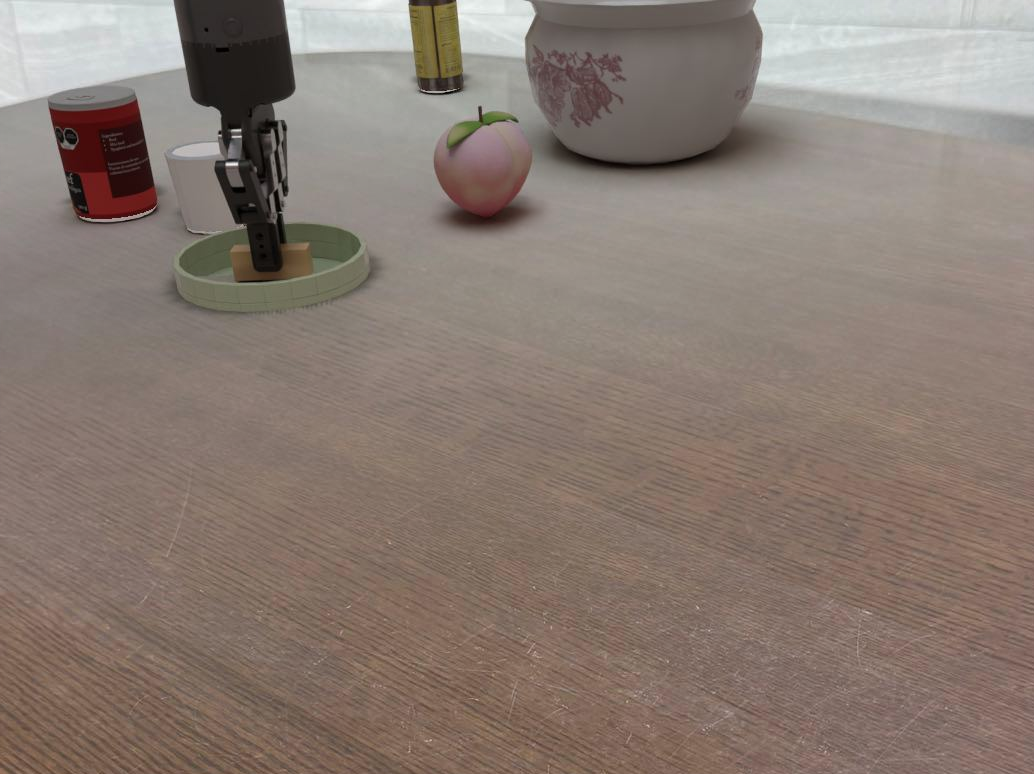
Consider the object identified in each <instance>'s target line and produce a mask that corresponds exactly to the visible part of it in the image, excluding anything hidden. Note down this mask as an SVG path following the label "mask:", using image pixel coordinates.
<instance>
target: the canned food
mask: <svg viewBox="0 0 1034 774" xmlns="http://www.w3.org/2000/svg"><path fill="white" fill-rule="evenodd" d="M47 107H48V112H49V115H50V120H51V124H52V128H53V129H52V130H53V132H54V136H55V141H56V144H57V149H58V153H59V156H60V160H61V164H62V169H63V173H64V177H65V182H66V184H67V189H68V192H69V197H70V201H71V205H72V209H73V211H74V213H75V215H76V216H77V215H79V216H81V217H85V218H91V219H112V218H121V217H128V216H133V215H137V214H140V213H144V212H146V211H149V210H151V209H153V208H154V207H155V206H156V205H157V206H158V193H157V189H156V185H155V180H154V175H153V170H152V164H151V159H150V155H149V150H148V149H149V148H148V144H147V140H146V139H147V138H146V135H145V129H144V124H143V120H142V115H141V108H140V107H139V102H138V97H137V95H136V91H135V89H133V88H131V87H128V86H122V85H96V86H94V85H93V86H85V87H77V88H70V89H66V90H61V91H59V92H56V93H53V94H51V95H50V96H48V98H47Z"/></svg>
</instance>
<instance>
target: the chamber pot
mask: <svg viewBox="0 0 1034 774" xmlns="http://www.w3.org/2000/svg"><path fill="white" fill-rule="evenodd" d="M524 1H525V2H529V3H530V4H531V6H532V10H533V11H534V17H533V19H532V21H531V24H530V25H529V28H528V30H527V32H526V34H525V37H524V55H525V67H526V71H527V76H528V80H529V84H530V88H531V93H532V97H533V101H534V103H535V105H536V106H537V108H538V110H539V111H540V113H541V114H542V116H543V118H544V119H545V121H546V123H547V124H548V125H549V128H550V129H551V130H552V132H553V134H554V135H555V137H556V138H557V139H558V140H559V141H560V143H562V144H563V145H564V146H565V148H567V149H568V150H569V151H571V152H574V153H576V154H578V155H581V156H583V157H586V158H589V159H593V160H595V161H598V162H604V163H609V164H616V165H627V166H645V165H646V166H648V165H649V166H650V165H660V164H662V165H663V164H670V163H675V162H680V161H684V160H687V159H690V158H692V157H695V156H698V155H700V154H703V153H706V152H709V151H711V150H713V149H715V148H716V147H717V146H718V145H720V144H721V143H722V142H723V141H724V140H725V139H726V138H727V137H728V136H729V135H730V133H731V132H732V130H733V129H734V128H735V126H736V124H737V123H738V121H739V120H740V118H741V116H742V114H743V113H744V111H745V110H746V108H747V107H748V105H749V104H750V102H751V100H752V99H753V95H754V92H755V91H754V90H755V87H756V83H757V79H758V76H759V71H760V67H761V64H762V54H763V39H764V33H763V30H762V29H763V28H762V26H761V24H760V22H759V20H758V18H757V15H756V12H755V10H754V7H755V4H756V2H757V0H524Z"/></svg>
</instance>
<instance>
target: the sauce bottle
mask: <svg viewBox="0 0 1034 774" xmlns="http://www.w3.org/2000/svg"><path fill="white" fill-rule="evenodd" d="M407 6H408V14H409V22H410V23H409V24H410V32H411V39H412V49H413V57H414V66H415V67H414V68H415V75H416V78H417V88H418V87H419V88H420V89H422V90H425V91H447V90H453V89H458V88H460V89H461V88H463V87H464V77H463V72H464V65H463V64H464V63H463V56H462V46H461V45H462V44H461V35H460V23H459V14H458V13H459V12H458V3H457V0H408V5H407ZM419 88H418V89H419Z"/></svg>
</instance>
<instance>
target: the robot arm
mask: <svg viewBox="0 0 1034 774" xmlns="http://www.w3.org/2000/svg"><path fill="white" fill-rule="evenodd" d="M173 6H174V7H173V8H174V12H175V17H176V23H177V29H178V32H179V39H180V45H181V50H182V55H183V60H184V67H185V72H186V78H187V83H188V89H189V93H190V98H191V100H193V102H194V103H196V104H197V105H200V106H202V107H205V108H209V107H211V108H214V109H216V110H217V111H219V114H220V129H219V130H218V131H217V141H218V143H219V149H220V153H221V155H222V156H223V157H224V159H225V160H216V162H215V166H214V170H215V173H216V176H217V178H218V181H219V183H220V186H221V188H222V191H223V194H224V196H225V199H226V201H227V204H228V206H229V209H230V211H231V214H232V216H233V219H234V221H235V223H236V224H243V225H245V226H246V227H247V233H248V239H249V245H250V251H251V257H252V262H253V267H254V269H255V270H256V271H257V272H278V271H279V270H280V269H281V268H282V266H283V260H282V253H281V246H280V244H284V243H287V239H286V233H285V226H284V222H285V220H284V214H283V213H284V212H285V208H286V200H285V198H287V197H288V195H289V192H290V188H289V178H288V177H289V176H288V174H289V173H288V138H287V137H288V135H287V132H288V125H287V123H286V120H285V119H276V114H275V113H276V112H275V109H274V105H273V104H277V103H280V102H282V101H285V100H287V99H289V98H290V97H292V96H293V95H294V93H295V91H296V89H297V87H296V79H295V71H294V63H293V56H292V50H291V49H292V48H291V41H290V35H289V29H288V28H289V27H288V21H287V20H288V19H287V15H286V7H285V0H173Z"/></svg>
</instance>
